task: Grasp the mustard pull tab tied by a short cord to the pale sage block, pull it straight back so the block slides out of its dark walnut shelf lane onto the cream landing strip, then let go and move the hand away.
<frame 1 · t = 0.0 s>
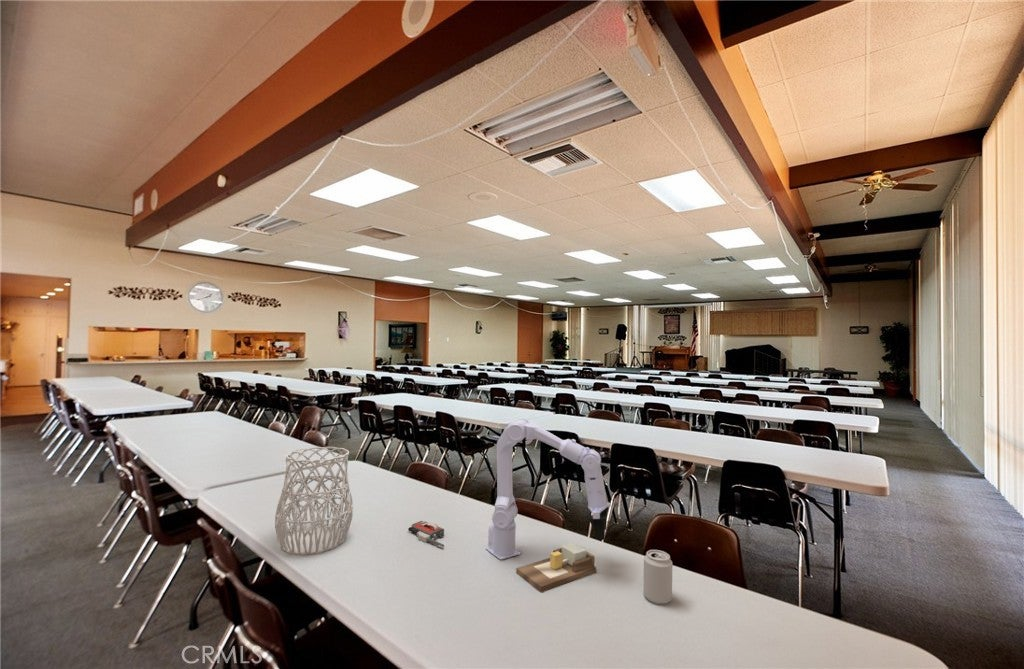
hand: (601, 534, 135), 11 cm above the table, tool pointing down, fingers open, 7 cm apart
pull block: (566, 556, 134), point 4 cm above the table, slide at 0.0 cm
shelf lane: (554, 573, 131), on the table
vase: (313, 542, 148), on the table
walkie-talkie: (430, 539, 154), on the table
can: (657, 599, 120), on the table
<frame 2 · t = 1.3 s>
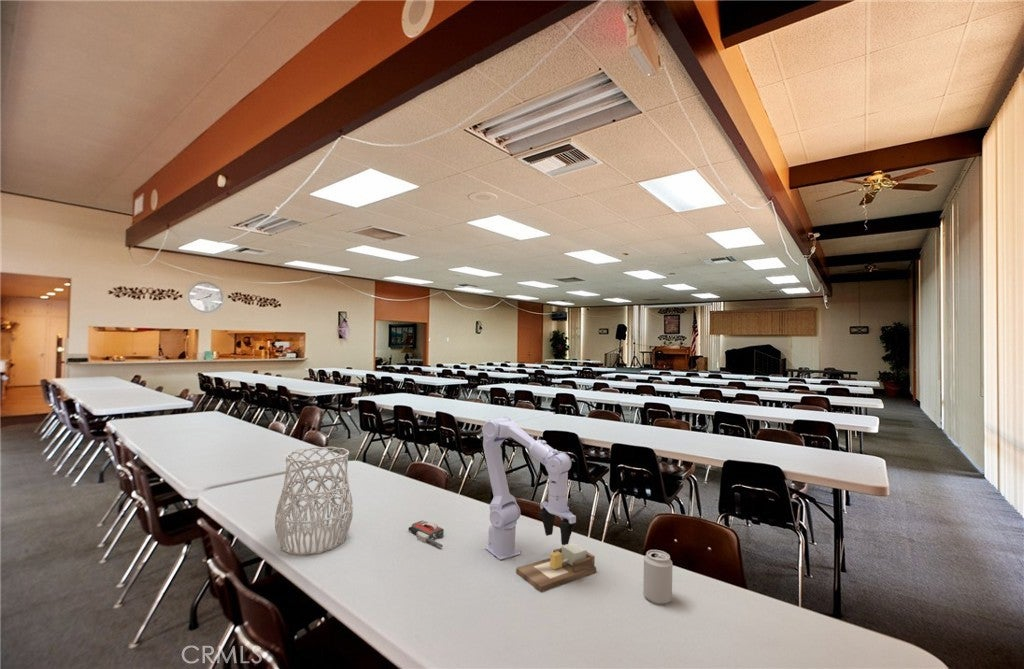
hand: (556, 539, 132), 10 cm above the table, tool pointing down, fingers open, 7 cm apart
nothing on the table moved.
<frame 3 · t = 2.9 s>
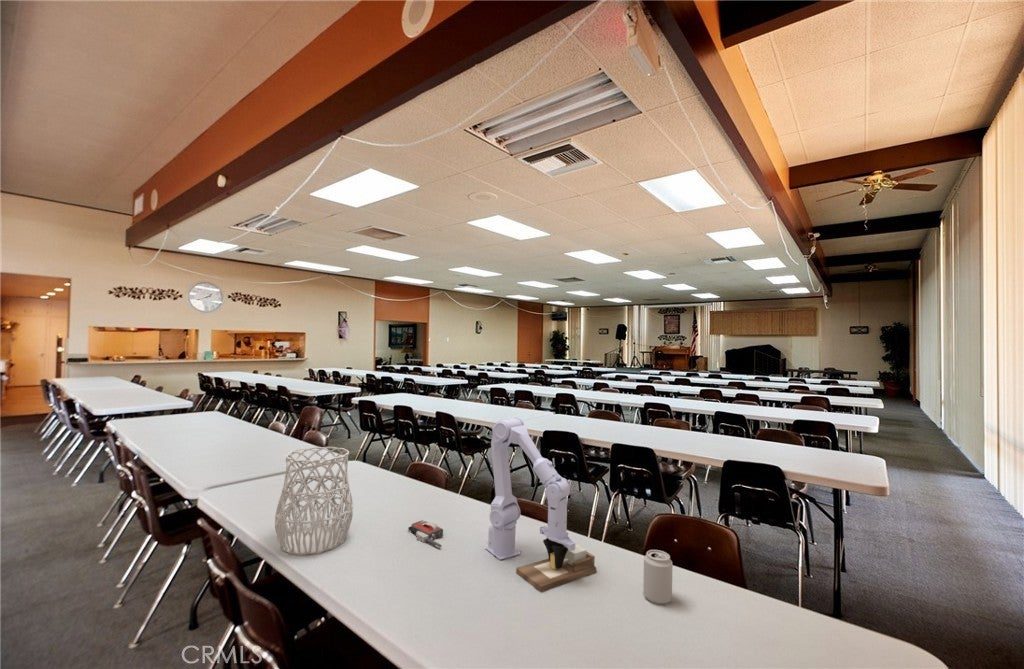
hand: (556, 565, 132), 2 cm above the table, tool pointing down, fingers closed on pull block, 2 cm apart
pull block: (566, 556, 134), point 4 cm above the table, slide at 0.0 cm, touching gripper
everything else where it was.
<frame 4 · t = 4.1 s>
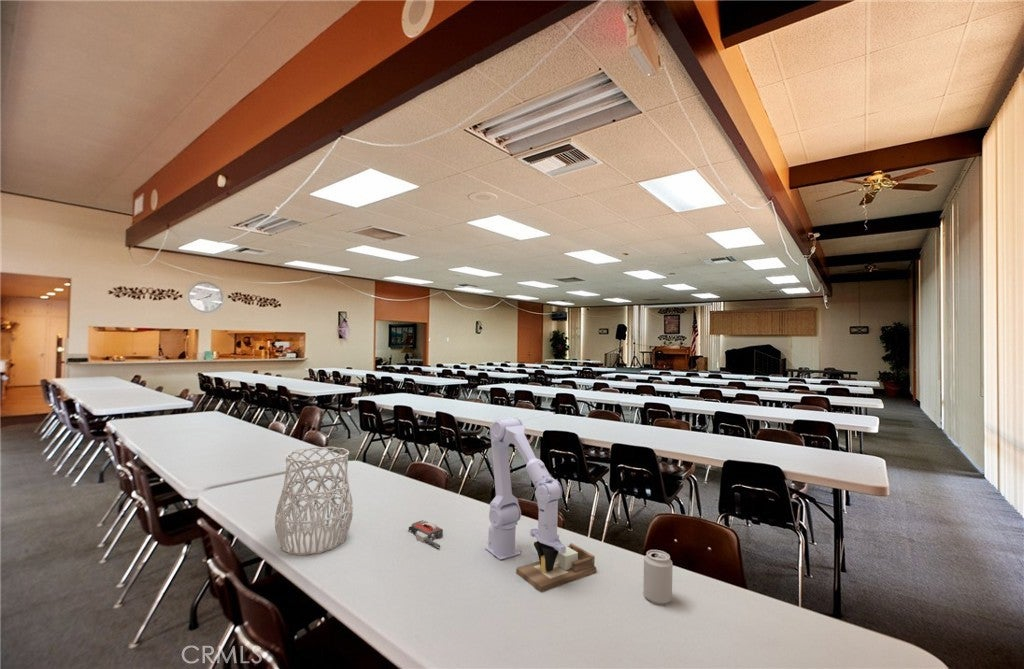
hand: (546, 568, 130), 2 cm above the table, tool pointing down, fingers closed on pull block, 2 cm apart
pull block: (557, 559, 132), point 4 cm above the table, slide at 3.6 cm, touching gripper
everything else where it was.
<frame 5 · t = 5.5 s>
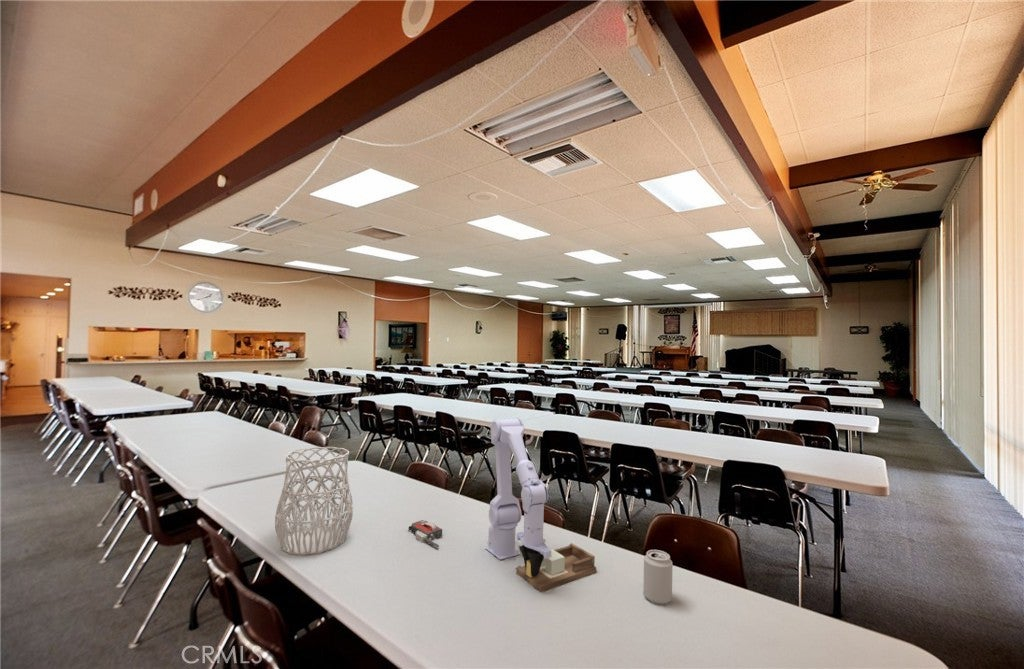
hand: (532, 573, 127), 2 cm above the table, tool pointing down, fingers closed on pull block, 2 cm apart
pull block: (543, 564, 129), point 4 cm above the table, slide at 8.9 cm, touching gripper
everything else where it was.
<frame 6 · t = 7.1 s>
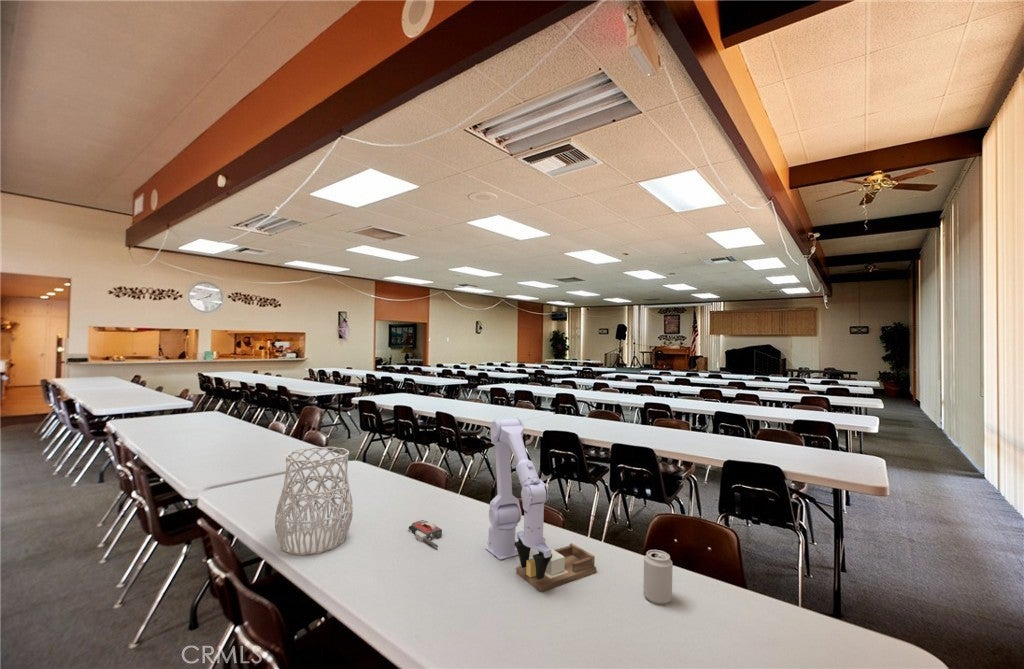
hand: (532, 572, 127), 2 cm above the table, tool pointing down, fingers open, 7 cm apart
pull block: (543, 564, 129), point 4 cm above the table, slide at 8.9 cm
everything else where it was.
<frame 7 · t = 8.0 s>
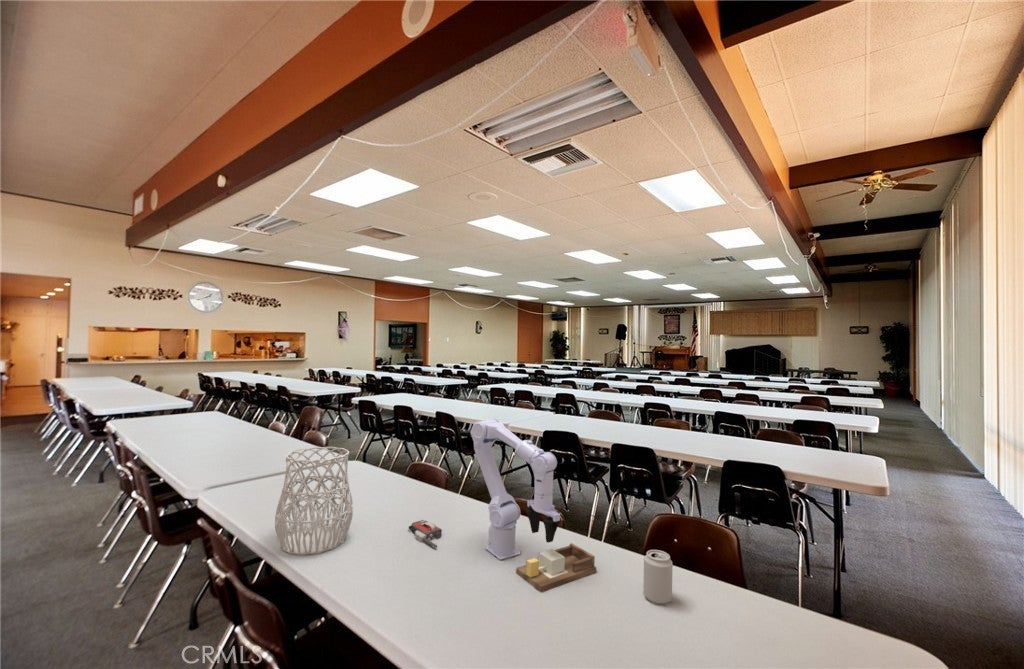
hand: (542, 536, 135), 9 cm above the table, tool pointing down, fingers open, 7 cm apart
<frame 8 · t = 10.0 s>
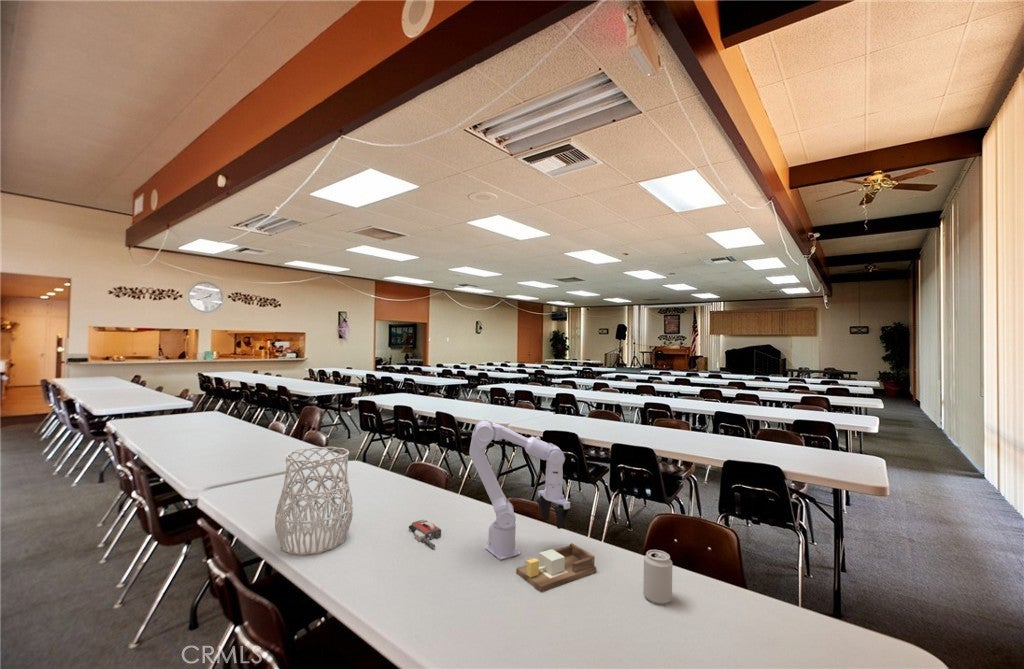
hand: (552, 524, 145), 9 cm above the table, tool pointing down, fingers open, 7 cm apart
at the end: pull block slide at 8.9 cm; the gripper is holding nothing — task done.
